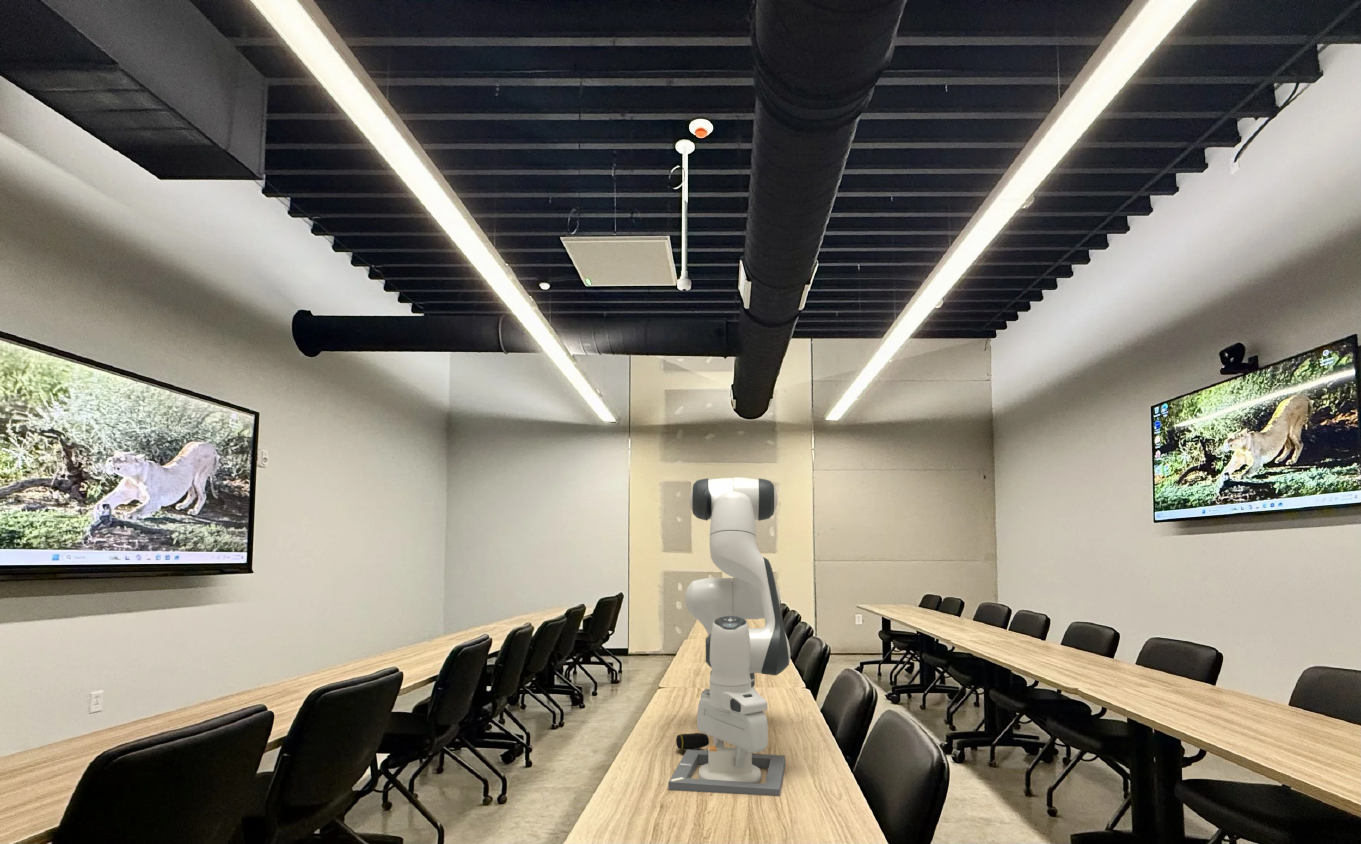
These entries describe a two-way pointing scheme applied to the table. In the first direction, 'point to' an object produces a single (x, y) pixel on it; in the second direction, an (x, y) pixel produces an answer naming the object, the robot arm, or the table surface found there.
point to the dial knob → (728, 766)
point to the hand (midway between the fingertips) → (730, 763)
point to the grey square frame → (698, 757)
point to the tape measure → (692, 741)
